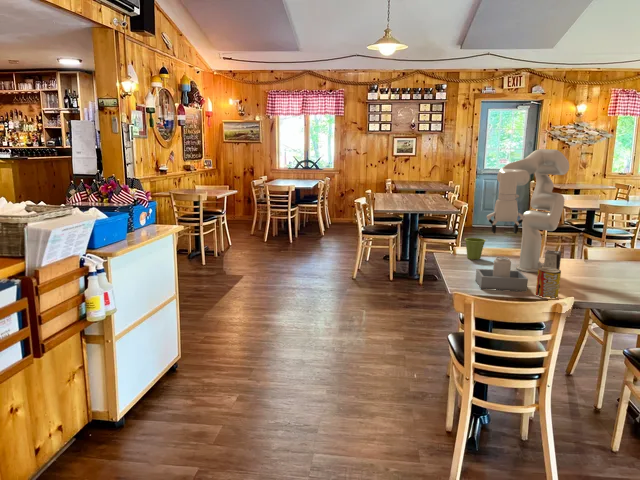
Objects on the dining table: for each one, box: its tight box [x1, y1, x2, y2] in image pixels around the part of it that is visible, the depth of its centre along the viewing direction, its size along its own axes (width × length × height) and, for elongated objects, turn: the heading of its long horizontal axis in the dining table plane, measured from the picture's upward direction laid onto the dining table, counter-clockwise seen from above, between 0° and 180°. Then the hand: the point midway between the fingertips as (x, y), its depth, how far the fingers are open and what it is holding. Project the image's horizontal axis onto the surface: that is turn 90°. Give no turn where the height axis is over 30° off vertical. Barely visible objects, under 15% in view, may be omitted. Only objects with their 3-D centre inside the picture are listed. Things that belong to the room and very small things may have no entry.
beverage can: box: [535, 267, 562, 298], centre depth 205 cm, size 9×9×12 cm
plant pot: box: [463, 237, 487, 261], centre depth 272 cm, size 12×12×11 cm
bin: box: [475, 268, 529, 292], centre depth 219 cm, size 20×14×6 cm
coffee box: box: [543, 249, 562, 270], centre depth 221 cm, size 9×6×16 cm
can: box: [492, 256, 512, 278], centre depth 219 cm, size 8×8×12 cm
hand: (504, 233), depth 223 cm, fingers open, 9 cm apart
